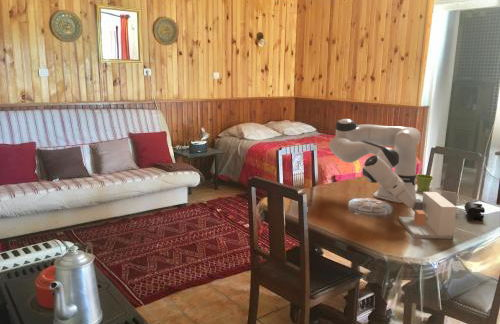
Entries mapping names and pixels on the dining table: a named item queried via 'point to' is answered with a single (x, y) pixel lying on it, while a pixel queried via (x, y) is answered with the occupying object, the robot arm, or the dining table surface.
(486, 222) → the dining table surface
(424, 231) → the plug console
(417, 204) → the grey plug
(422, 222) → the orange thick block
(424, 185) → the plant pot
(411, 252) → the dining table surface
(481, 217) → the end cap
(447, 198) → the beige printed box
